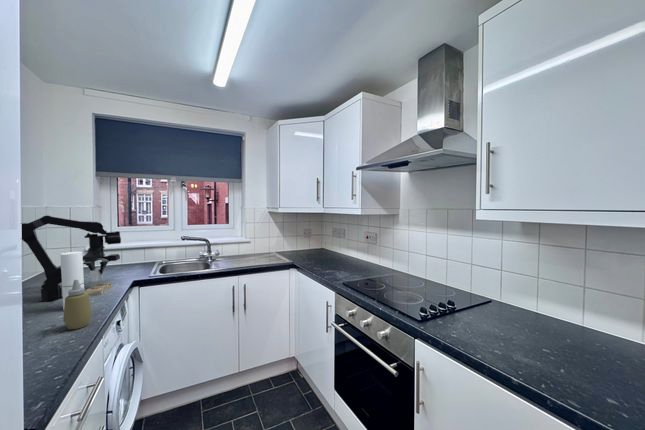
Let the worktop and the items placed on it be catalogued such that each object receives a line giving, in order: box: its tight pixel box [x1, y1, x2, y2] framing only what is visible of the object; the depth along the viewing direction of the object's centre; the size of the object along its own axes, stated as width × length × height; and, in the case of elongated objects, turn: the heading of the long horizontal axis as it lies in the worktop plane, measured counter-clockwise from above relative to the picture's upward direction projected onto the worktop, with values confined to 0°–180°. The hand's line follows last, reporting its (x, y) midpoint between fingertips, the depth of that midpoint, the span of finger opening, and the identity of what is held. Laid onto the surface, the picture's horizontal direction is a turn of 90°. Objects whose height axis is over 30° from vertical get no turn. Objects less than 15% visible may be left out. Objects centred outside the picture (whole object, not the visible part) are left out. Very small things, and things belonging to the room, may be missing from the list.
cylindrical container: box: [60, 251, 85, 311], centre depth 119 cm, size 7×7×25 cm
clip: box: [89, 266, 105, 283], centre depth 141 cm, size 8×3×6 cm, turn 19°
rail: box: [85, 281, 113, 297], centre depth 142 cm, size 14×7×2 cm, turn 19°
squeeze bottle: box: [63, 280, 93, 330], centre depth 101 cm, size 8×8×18 cm
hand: (97, 274), depth 141 cm, fingers closed on clip, 3 cm apart
